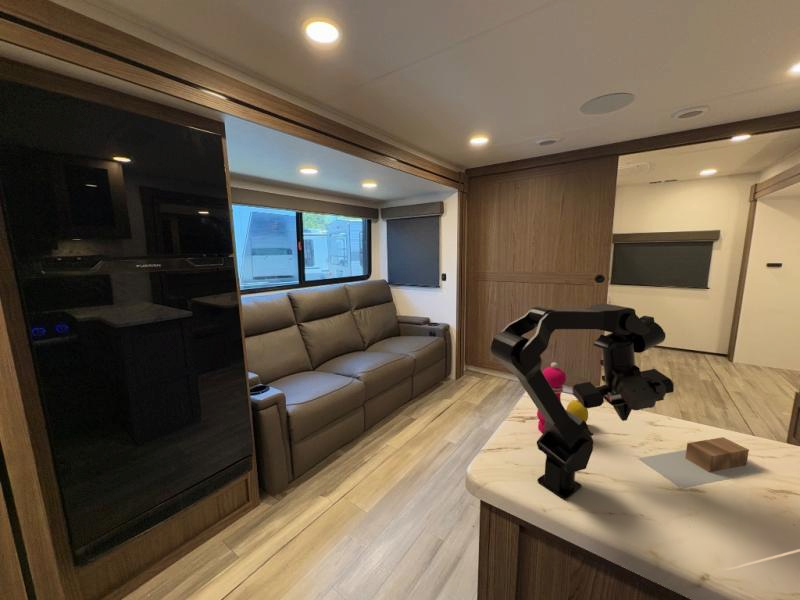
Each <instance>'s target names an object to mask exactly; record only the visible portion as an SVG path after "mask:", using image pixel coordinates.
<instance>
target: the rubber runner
mask: <svg viewBox="0 0 800 600" xmlns="http://www.w3.org/2000/svg"><path fill="white" fill-rule="evenodd" d="M685 456H686V449H684V450H678V451H671V452H666V453H660V454H654V455H649V456H648V455H647V456H643V457H641V456H640V457H637V458H636V459H637V460H639V461H640V462H642V463H643V464H644V465H646V466H647V467H649V468H650V469H652V470H653V471H654V472H656V473H658V474H660V475H661V476H662V477H663V478H665V479H667V480H668V481H670V483H672V484H674V485H675V486H676V487H678V488H680V489H685V488H690V487H694V486H700V485H704V484H710V483H715V482H720V481H726V480H730V479H735V478H740V477H744V476H745V477H747V476H750V475H755V474H760V473H763V471H762V470H760V469H758V468H756V467H755V466H753V465H751V464H749V463H747V464H746V465H745V466H740V467H735V468H730V469H724V470H719V471H714V472H707V471H706V470H704V469H702V468H701V467H699V466H697V465H696V464H694V463H692V462H691V461H689V460H687V459H685Z"/></svg>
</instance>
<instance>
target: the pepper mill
mask: <svg viewBox="0 0 800 600" xmlns="http://www.w3.org/2000/svg"><path fill="white" fill-rule="evenodd" d="M542 373H543V374H544V376H545V378H546V379H547V381H548V382H549V384H550V386H551V387H552V389H553V391H554V392H555V394H556V395H557V397H558V399H559V400H560V402H561V403H562V400H561V395H562V393H563V392H564V384H565V383H566V382H567V376H566V373H565V372H564V371H563V370H562V369H561V368H559V364H558V362H554V361H553V362H551V363H550V366H548V367H546V368H544V370H542ZM536 417H537V419H538V422H537V423H538V424H537V429H538V431H539V432H540V431H541V434H543V433H544V432H545V431H546V430H545V423H546V421H545V419H544V417H543V416H542V414H541V413H540V411H539V410H538V409H537V411H536Z"/></svg>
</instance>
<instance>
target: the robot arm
mask: <svg viewBox="0 0 800 600" xmlns="http://www.w3.org/2000/svg"><path fill="white" fill-rule="evenodd" d="M535 329H536V331H535V334H534V335H533V336H532V337H531V338H527V337H524V336H523V335H525V334H528V333H529V332H531V331H533V330H535ZM556 330H599V331H603V332H604V331H605V332H608V334H606V335H605V334H600V336H599V337H598V338H596V339H595V341H594V342H593V346H594V347H598V348H600V349H601V352H602V359H600V360H599V363H600V365H601V366H602V367H603V374H604V375H601V380H602V381H603V382H604V383H605V384H602V385H597V386H595V385H594V384H593V383H592V382H591V381H588V382H582V383H577V384H574V385H572V386H573V387H572V395H573V396H574V397H575V399H576V400H578V401H579V402H580V403H581V404H582V405H583V406H584V407H585V408H587V409H591V408H596V407H597V408H598V407H601V406H602V405H603V404H604V403H605V402H604V400H605V401H606V402H607V403H608V404H609V405H611V406H612V407H613V410H615V412H616V414H617V416H618V417H619V419H620V420H621V421H622V422H624V421H628V418H629V417H630V415H631V412H632V411H636V412H637V411H641V410H644V409H652V408H655V405H656V402H660V401H664V400H665V397H666V394H670V393H674V391H675V384H674V381H673V380H672V379H671V378H670V377H668V376H667V375H666V374H664V373H662V372H660V371H659V370H657V369H656V368H652V369H646V370H642V371H641V369H640V366H637V365H636V359H635V357H636V356H635V353H638V354H642V353H643V352H645V351H647V350H650V349H652V348H654V347H656V346H657V345H660V344H662V343H663V342H664V341H665V340H666V332H665V331H664V329H663V327H662V326H661V325H660V324H658V323H657V322H655V317H654V316H649V315H643V316H641V317H639V316H638V315H637V314H636V310H635V308H632V307H626V306H621V305H617V304H609V303H597V304H593V305H591V306H590V307H587V308H570V307H569V308H565V307H564V308H561V307H560V308H558V307H557V308H556V307H543V306H542V307H541V306H535V307H531V308H530V309H529V310H528V311H526V313H525V314H524V315H522V316H521V317H519V318H517V319H516V320H514V321H512V322H509V323H508V324H507V325H506V326H505V327H504V328H503V329H502V330H501V331H500V332H498V333H497V334H496V335H495V336H494V337H493V338H492V339H493V340H492V341H491V345H490V347H489V348H490V351H491V354H492V356H493V357H495V359H497V360H498V361H499V363H500V364H501V365H503V367H505V368H506V369H507V370H509V371H510V373H513V374H514V375H515V377H516V378H517V379H518V381H519V383H520V384H521V386H522V387H523V389H524V390H525V391H526V393H527V395H528V396H529V398H530V400H531V401H532V402H533V404H534V405H535V407H536V409H537V411H538V410H539V411H540V413H541V414H542V416H543V417H544V419H545V421H546V423H545V430H546V431H545V432H544V433H541V435H540V437H539V438H538V439H537V441H536V445H537V450H539V451H541V452H542V453H543V454H544V455H546V456H545V463H544V465H545V466H544V473H543V474H542V475H541V476H540V477H538V478H537V480H536V481H537V483H539V484H540V485H541V486H543V487H545V488H546V489H548V490H550V491H551V492H553V493H554V494H556V496H559V497H560V498H562V499H563V500H568V499H569V498H571V497H572V496H573V495H574V494H575V493H576V492H578V491H579V490H580V489H581V488H582V484H581V483H579V482H578V481H576V472H579V471H582V470H586V469H587V466H588V464H589V461H590V459H591V456H592V453H593V450H594V439H593V437H592V436H594V433H593V432H592V431H590V430H589V426H588V424H587V422H585V421H583V420H582V419H580V418H578V417H577V416H575V415H573V414H572V413H570V412H568V411H567V410H566V408H565V407H564V404H563V403H562V401H561V402H560V400H561V399H560V400H559V399H558V397H557V395H556V394H555V392H554V391H553V389H552V387H551V386H550V384H549V382H548V381H547V379H546V378H545V376H544V374H543V373H542V372H543V370H541V367H542V361H543V358H542V354H543V353H544V352H545V351H546V350H547V348H548V346H549V343H550V339H551V336H552V334H553V332H555V331H556Z"/></svg>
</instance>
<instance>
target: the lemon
mask: <svg viewBox="0 0 800 600" xmlns="http://www.w3.org/2000/svg"><path fill="white" fill-rule="evenodd" d="M565 410H567V411H568V412H570V413H572V414H573V415H575V416H577V417H578V418H580V419H582V420H583V421H585V422H586V423H588V420H589V410H588V408H585V407H584V406H583V405H582V404H581V403H580V402H579V401H578V399H576V400H571V401H569V402H568V404H567V406H566V408H565Z"/></svg>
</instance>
